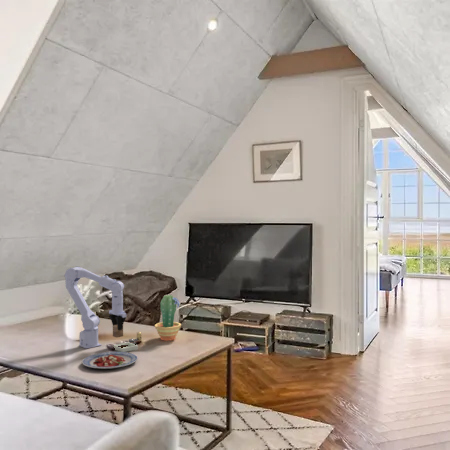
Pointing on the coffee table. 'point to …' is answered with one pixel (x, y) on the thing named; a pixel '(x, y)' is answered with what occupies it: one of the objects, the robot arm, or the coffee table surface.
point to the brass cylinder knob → (137, 337)
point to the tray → (126, 349)
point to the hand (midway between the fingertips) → (117, 328)
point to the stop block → (117, 331)
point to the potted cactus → (168, 319)
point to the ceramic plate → (109, 360)
